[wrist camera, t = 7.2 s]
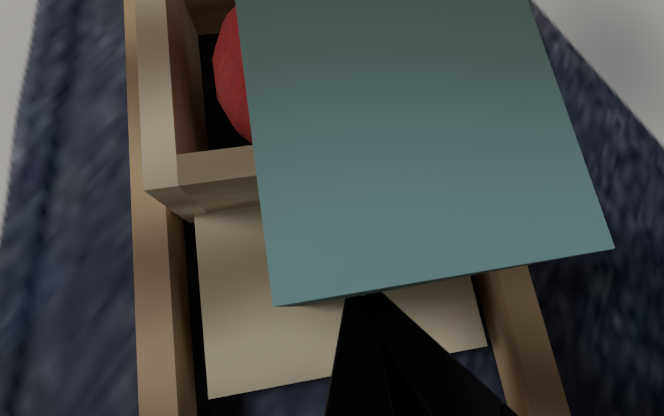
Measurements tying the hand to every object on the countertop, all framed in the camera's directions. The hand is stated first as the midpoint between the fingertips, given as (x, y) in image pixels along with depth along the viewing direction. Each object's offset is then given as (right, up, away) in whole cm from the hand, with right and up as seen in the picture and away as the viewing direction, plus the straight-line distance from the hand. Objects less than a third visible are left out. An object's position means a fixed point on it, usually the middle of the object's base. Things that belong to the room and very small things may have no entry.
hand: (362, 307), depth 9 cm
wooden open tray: (-1, +4, +8) cm, 9 cm away
